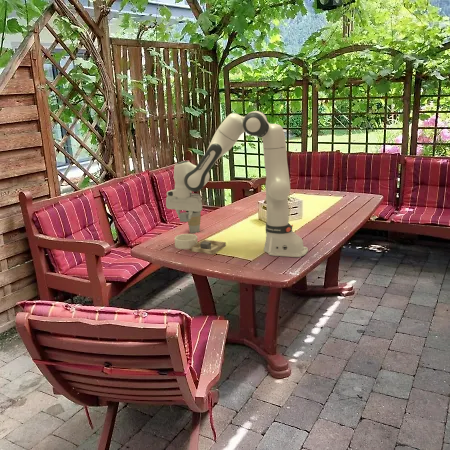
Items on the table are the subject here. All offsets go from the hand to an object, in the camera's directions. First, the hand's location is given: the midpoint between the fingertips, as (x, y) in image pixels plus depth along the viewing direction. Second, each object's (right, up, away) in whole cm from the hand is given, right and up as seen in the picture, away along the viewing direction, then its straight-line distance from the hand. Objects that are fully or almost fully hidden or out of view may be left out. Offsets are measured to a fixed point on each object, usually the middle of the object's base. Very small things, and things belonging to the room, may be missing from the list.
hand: (184, 218), depth 248 cm
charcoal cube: (+11, -17, -4) cm, 20 cm away
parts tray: (+13, -17, -1) cm, 21 cm away
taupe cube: (0, -1, +1) cm, 1 cm away
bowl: (+1, -15, +5) cm, 16 cm away
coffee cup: (+3, -8, +31) cm, 32 cm away
